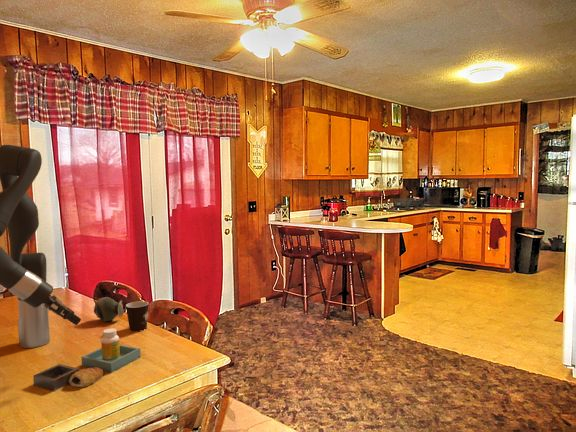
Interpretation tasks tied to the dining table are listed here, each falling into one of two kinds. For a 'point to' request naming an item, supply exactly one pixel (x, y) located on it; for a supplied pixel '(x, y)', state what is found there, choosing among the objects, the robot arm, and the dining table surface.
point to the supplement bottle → (110, 345)
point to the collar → (47, 377)
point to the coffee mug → (137, 315)
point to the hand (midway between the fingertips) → (75, 318)
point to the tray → (125, 358)
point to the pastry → (86, 377)
